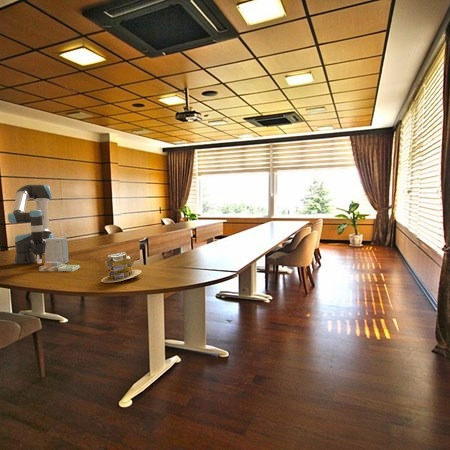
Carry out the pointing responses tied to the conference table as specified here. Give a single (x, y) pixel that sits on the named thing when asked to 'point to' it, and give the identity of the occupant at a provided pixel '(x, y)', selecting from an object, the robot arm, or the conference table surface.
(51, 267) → the board
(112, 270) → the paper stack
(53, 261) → the terracotta tile
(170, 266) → the conference table surface
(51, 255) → the hard drive box
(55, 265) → the slate tile
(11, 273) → the conference table surface
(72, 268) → the tray
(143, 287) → the conference table surface
